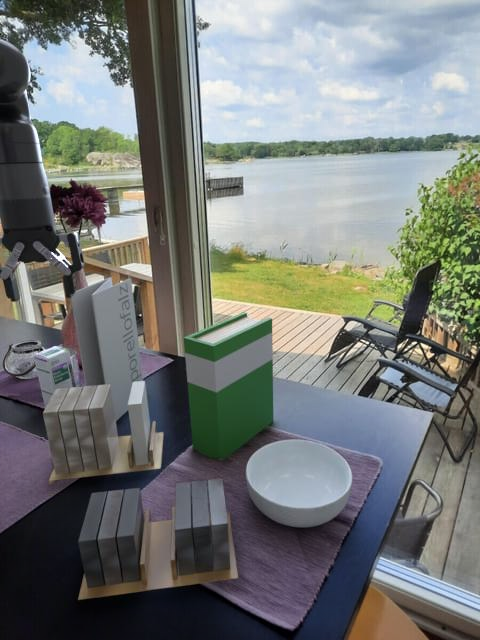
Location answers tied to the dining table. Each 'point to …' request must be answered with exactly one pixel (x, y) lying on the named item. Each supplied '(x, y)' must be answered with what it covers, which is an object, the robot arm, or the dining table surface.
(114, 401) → the grey box
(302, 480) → the cereal bowl
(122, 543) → the grey rack
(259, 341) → the hardback book
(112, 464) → the beige rack
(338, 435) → the dining table surface
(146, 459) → the white book
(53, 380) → the syrup box
